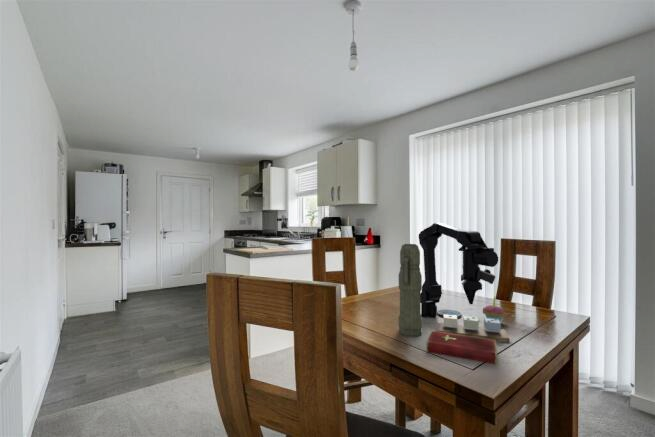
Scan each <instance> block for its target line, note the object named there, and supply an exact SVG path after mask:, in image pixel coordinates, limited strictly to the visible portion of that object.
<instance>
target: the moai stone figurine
mask: <svg viewBox="0 0 655 437" xmlns="http://www.w3.org/2000/svg"><path fill="white" fill-rule="evenodd" d="M420 251H421V250H420V249H419V245H417V244H416V243H404V244H402V245H401V248H400V251H399V258H400V259H399V264H400V267H399V273H398V289H399V316H398V333H399V335H401V336H404V337H409V338H417V337H420V336H422V334H423V333H422V328H423V317H421V303H420V294H421V292H422V286H423V283H422V281H423V279H422V278H423V277H422V273H421V268H420V265H421V252H420Z"/></svg>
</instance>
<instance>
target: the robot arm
mask: <svg viewBox="0 0 655 437" xmlns="http://www.w3.org/2000/svg"><path fill="white" fill-rule="evenodd" d="M442 235H445V236H447V237H450V238H453V239H454V240H456V242H457V243H458V244H460V245H461V247H459V248H458V251H459V252H462V266H461V267H462V274H461V275H460V281H461V285H462V288H463V291H464V293H465V296H466V298H467V301H468V303H469V305H473V304H474V301H475V296H476V292H478V291H482V290H483V284H482V282H481V280H482V281H483V282H487V283H489V284H491V285H494V281H495V280H496V275H495V274H493V273H491V270H490V269H488V268H485V269H484V270H482V269H481V267H480V266H484V267H491V268H493V267H496V266H497V264H498V263H499V256H498V254H497V253H496V251H495V248H493V247H488V246H487V244H486V242H485V241H484V239H483V237H482V235H481V233H480V232H479V231H475V230H464V229H461V228H456V227H454V226H451V225H450V224H449V225H448V224H445V223H444V222H434V223H432V224H431V225H430V226H428V227H426V228H424V229H422V230H421V231H420V232H419V233H418V242H419V245H420V247H421V248H422V251H423V268H424V282H423V283H422V289H421V291H420V314H421V318H432V319H436V318H437V316H438V305H436V304H437V303H440V300H441V298H442V294H443V291H442V285H441V284H439V283H438V281H437V270H436V252H435V251H436V250H435V249H436V247H437V246H438V243H439V239H440V238H441V237H442Z"/></svg>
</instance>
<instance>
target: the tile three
mask: <svg viewBox="0 0 655 437" xmlns="http://www.w3.org/2000/svg"><path fill="white" fill-rule="evenodd" d="M483 326H484V328H485V329H486V330H492V331H501V328H502V327H501V326H502V325H501V321H499V320H498V319H489V318H486V317H484V318H483Z"/></svg>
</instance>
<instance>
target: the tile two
mask: <svg viewBox="0 0 655 437" xmlns="http://www.w3.org/2000/svg"><path fill="white" fill-rule="evenodd" d="M462 325H464V328H473V329H479V325H480V324H479V319H478V317H477V316H476V317H475V316H466V315H465V316H464V315H463V324H462Z"/></svg>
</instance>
